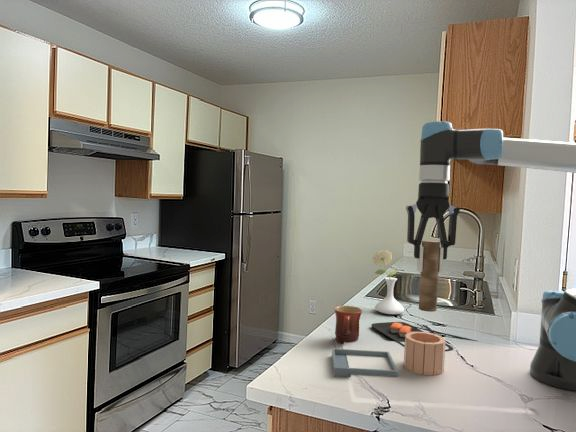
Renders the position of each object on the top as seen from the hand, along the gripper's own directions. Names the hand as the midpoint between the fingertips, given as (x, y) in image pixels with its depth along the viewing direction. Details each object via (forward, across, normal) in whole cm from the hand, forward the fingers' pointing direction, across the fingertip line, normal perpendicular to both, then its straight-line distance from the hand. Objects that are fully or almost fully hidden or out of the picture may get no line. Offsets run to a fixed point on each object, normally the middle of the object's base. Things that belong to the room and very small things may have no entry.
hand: (429, 271), depth 116 cm
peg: (+10, 0, 0) cm, 10 cm away
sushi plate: (+28, -9, -29) cm, 41 cm away
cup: (+27, 0, 0) cm, 27 cm away
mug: (+27, +19, -19) cm, 38 cm away
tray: (+27, +16, 0) cm, 31 cm away
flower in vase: (+27, 0, -58) cm, 64 cm away
